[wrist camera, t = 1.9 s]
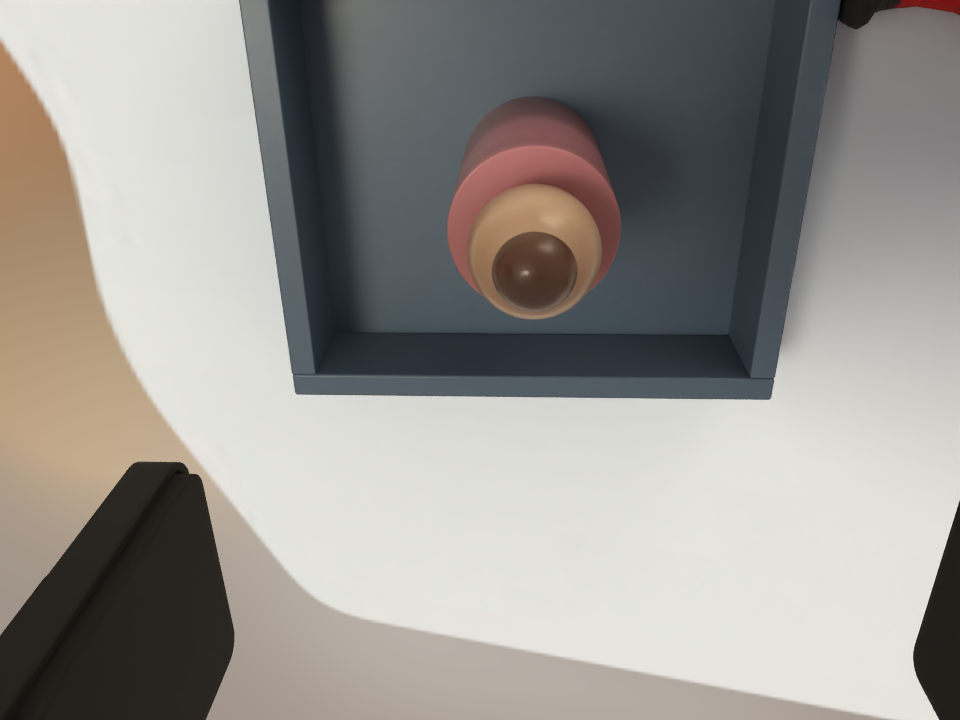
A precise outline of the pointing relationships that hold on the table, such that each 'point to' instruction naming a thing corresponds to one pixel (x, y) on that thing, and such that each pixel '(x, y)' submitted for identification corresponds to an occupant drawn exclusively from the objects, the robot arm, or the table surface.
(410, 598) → the table surface
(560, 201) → the peg doll
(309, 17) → the tray
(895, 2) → the action figure
